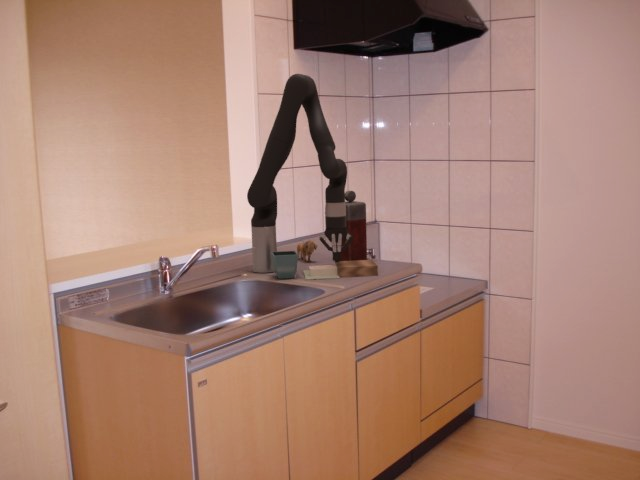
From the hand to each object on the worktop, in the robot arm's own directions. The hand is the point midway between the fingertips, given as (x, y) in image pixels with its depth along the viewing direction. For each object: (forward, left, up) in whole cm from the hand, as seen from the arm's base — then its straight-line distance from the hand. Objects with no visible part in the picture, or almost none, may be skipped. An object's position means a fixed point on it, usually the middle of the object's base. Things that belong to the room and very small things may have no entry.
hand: (336, 261), depth 263 cm
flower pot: (-19, -2, -5) cm, 20 cm away
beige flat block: (-5, 0, -4) cm, 7 cm away
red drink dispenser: (+8, +26, -5) cm, 28 cm away
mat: (-6, 0, -4) cm, 8 cm away
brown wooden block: (+7, 0, -4) cm, 8 cm away
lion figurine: (-10, +29, -5) cm, 31 cm away
